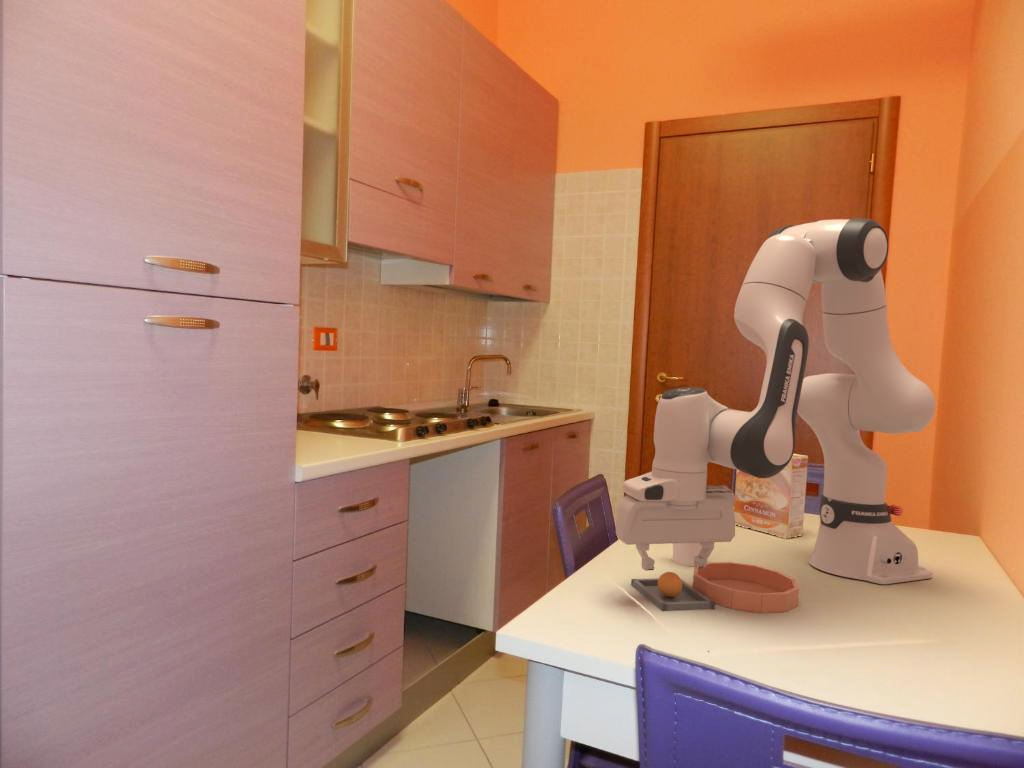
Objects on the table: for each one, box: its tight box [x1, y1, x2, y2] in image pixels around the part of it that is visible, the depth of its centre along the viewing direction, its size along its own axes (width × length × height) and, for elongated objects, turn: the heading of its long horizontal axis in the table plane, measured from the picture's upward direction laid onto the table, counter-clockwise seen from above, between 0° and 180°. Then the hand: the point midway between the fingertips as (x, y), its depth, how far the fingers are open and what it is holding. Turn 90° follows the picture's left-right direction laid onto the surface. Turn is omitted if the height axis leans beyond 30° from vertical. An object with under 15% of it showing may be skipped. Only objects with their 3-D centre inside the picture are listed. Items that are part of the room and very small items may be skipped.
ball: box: [658, 571, 682, 597], centre depth 112 cm, size 4×4×4 cm
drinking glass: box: [672, 543, 703, 567], centre depth 132 cm, size 7×7×15 cm
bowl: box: [692, 561, 800, 614], centre depth 115 cm, size 17×17×4 cm
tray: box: [630, 577, 716, 612], centre depth 112 cm, size 9×12×2 cm
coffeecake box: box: [734, 453, 809, 539], centre depth 165 cm, size 15×7×20 cm, turn 36°
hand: (674, 568), depth 112 cm, fingers open, 8 cm apart
